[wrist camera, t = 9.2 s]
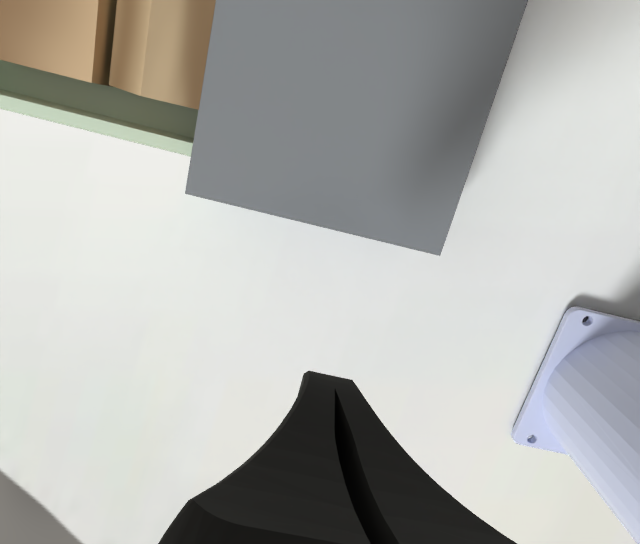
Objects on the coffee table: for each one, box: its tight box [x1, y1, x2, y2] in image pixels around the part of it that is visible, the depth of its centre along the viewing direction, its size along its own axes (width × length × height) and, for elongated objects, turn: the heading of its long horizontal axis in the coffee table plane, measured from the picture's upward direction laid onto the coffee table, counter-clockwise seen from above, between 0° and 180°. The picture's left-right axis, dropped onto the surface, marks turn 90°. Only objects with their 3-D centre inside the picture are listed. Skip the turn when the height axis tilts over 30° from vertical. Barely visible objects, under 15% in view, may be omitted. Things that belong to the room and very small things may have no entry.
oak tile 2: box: [0, 0, 117, 87], centre depth 17 cm, size 4×4×2 cm
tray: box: [0, 60, 198, 156], centre depth 17 cm, size 10×8×2 cm
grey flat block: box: [185, 0, 528, 256], centre depth 17 cm, size 10×10×4 cm
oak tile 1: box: [109, 0, 216, 110], centre depth 16 cm, size 4×4×2 cm
